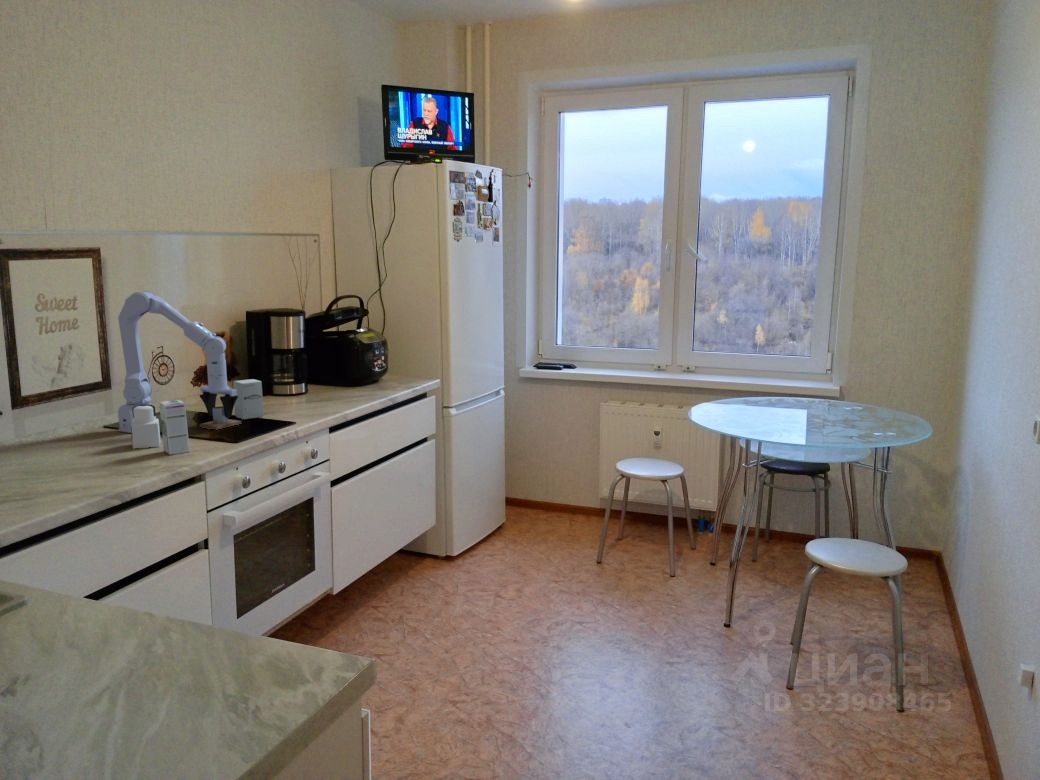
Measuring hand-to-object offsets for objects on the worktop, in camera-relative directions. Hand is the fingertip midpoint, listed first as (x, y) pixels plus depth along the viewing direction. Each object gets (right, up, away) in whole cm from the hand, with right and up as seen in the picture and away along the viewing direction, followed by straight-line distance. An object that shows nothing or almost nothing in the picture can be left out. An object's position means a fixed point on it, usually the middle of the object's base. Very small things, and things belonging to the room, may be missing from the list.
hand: (220, 416), depth 252 cm
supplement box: (+4, -1, +15) cm, 16 cm away
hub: (0, -2, 0) cm, 2 cm away
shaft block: (0, -3, +1) cm, 3 cm away
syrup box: (0, -9, -31) cm, 33 cm away
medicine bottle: (-12, -8, -24) cm, 28 cm away
